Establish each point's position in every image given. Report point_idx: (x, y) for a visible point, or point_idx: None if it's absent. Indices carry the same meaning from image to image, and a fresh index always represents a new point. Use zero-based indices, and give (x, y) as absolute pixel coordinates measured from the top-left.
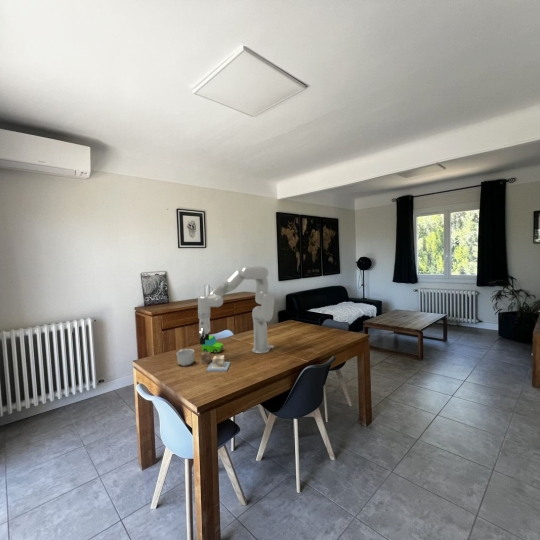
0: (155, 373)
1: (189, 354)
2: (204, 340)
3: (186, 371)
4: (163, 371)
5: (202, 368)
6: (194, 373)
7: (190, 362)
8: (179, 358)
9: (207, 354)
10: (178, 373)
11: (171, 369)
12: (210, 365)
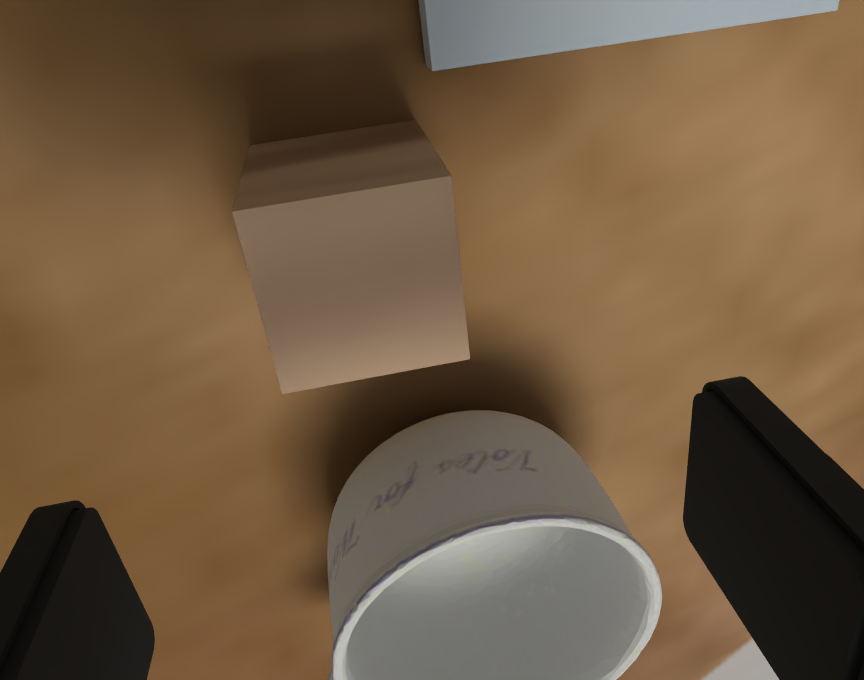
0: (740, 620)
1: (620, 531)
2: (845, 495)
3: (738, 346)
4: (696, 585)
5: (646, 152)
6: (838, 197)
7: (541, 424)
8: (614, 601)
9: (453, 207)
10: (788, 410)
11: (644, 545)
12: (627, 7)
